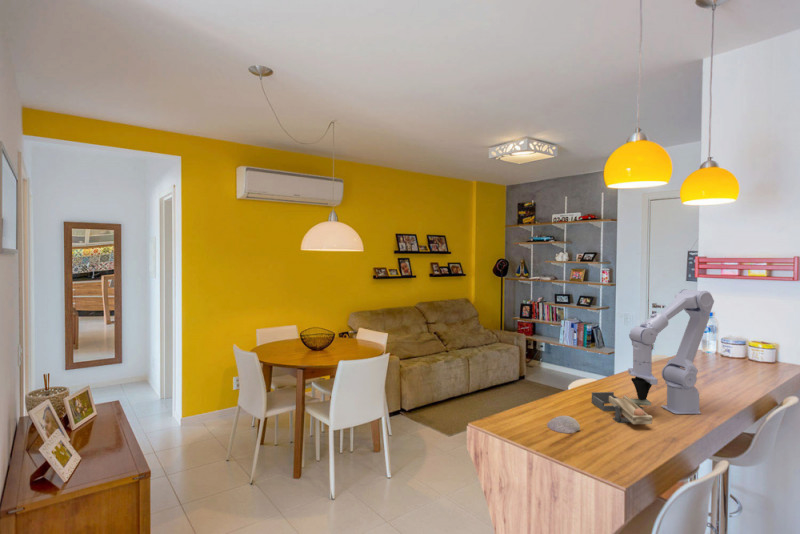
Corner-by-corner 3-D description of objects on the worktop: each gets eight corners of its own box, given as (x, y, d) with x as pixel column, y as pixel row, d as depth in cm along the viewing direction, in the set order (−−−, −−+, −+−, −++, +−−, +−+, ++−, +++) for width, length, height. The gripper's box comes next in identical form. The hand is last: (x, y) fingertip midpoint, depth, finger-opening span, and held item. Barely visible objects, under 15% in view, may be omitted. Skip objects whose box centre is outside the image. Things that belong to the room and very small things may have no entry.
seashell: (576, 427, 133) (545, 413, 140) (572, 443, 134) (541, 429, 141) (586, 417, 141) (556, 404, 148) (582, 432, 142) (553, 419, 148)
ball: (640, 415, 142) (641, 406, 142) (646, 419, 139) (646, 410, 139) (631, 415, 142) (632, 406, 142) (636, 419, 139) (637, 410, 139)
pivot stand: (639, 418, 148) (639, 404, 148) (646, 422, 144) (646, 408, 144) (612, 418, 148) (612, 404, 148) (618, 423, 144) (618, 408, 144)
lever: (645, 400, 154) (645, 394, 154) (674, 423, 138) (674, 416, 138) (608, 401, 154) (609, 394, 154) (633, 424, 138) (633, 416, 138)
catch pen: (612, 402, 165) (612, 392, 165) (625, 410, 156) (625, 399, 156) (591, 402, 165) (591, 392, 165) (603, 411, 156) (603, 400, 156)
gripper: (620, 356, 159) (620, 393, 159) (642, 366, 145) (642, 406, 145) (639, 356, 159) (639, 392, 160) (663, 365, 145) (663, 406, 145)
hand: (642, 399), depth 152 cm, fingers closed
